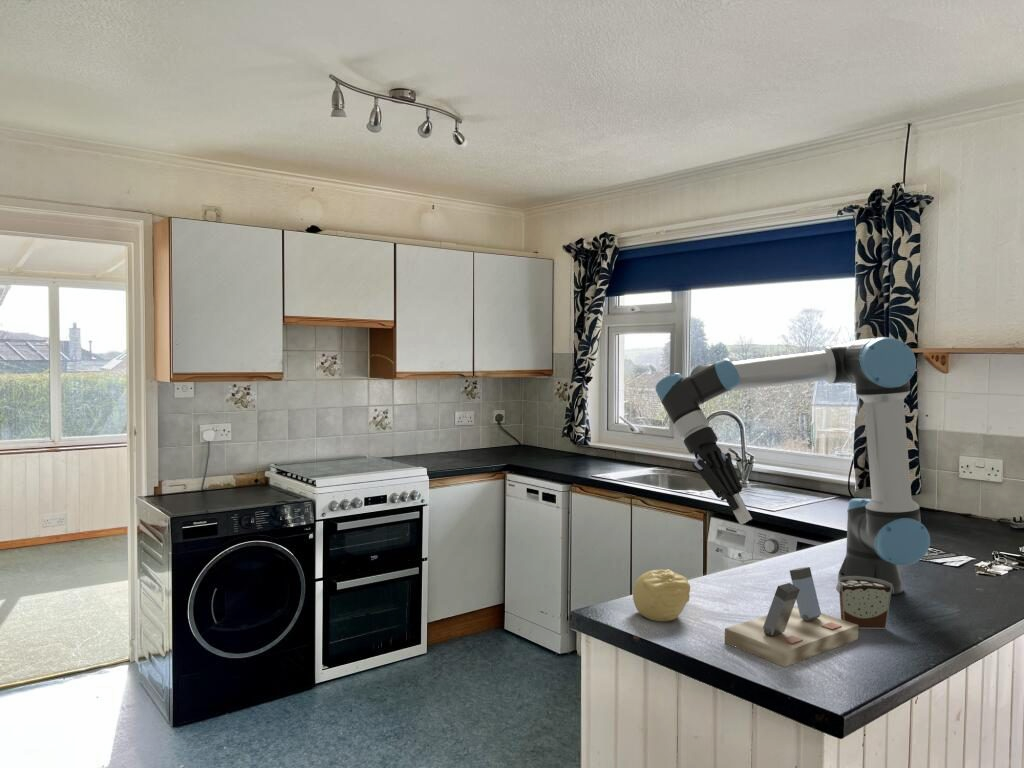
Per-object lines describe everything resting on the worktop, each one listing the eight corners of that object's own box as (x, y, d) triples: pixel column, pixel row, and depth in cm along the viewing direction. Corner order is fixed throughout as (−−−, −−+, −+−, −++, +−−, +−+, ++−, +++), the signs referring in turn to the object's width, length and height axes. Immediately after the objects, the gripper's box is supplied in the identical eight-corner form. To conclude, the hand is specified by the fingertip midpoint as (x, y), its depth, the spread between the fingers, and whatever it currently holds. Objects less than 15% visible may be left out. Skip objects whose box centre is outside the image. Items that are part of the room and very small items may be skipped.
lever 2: (812, 617, 159) (800, 567, 161) (822, 617, 157) (810, 566, 159) (800, 621, 156) (788, 570, 158) (810, 621, 154) (798, 569, 156)
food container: (877, 619, 167) (879, 575, 167) (892, 629, 161) (894, 584, 160) (824, 618, 166) (826, 574, 166) (837, 628, 160) (839, 583, 160)
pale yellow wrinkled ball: (653, 629, 157) (654, 579, 157) (623, 610, 168) (624, 564, 168) (696, 622, 162) (698, 574, 162) (664, 605, 173) (666, 560, 172)
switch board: (798, 618, 166) (798, 604, 166) (858, 639, 154) (858, 623, 154) (724, 642, 150) (725, 626, 150) (784, 667, 139) (785, 650, 139)
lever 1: (774, 627, 150) (790, 582, 147) (783, 634, 149) (800, 589, 145) (761, 631, 148) (777, 586, 145) (770, 638, 146) (787, 593, 143)
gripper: (701, 437, 184) (750, 522, 176) (669, 444, 176) (718, 534, 167) (722, 422, 179) (773, 509, 171) (690, 428, 171) (742, 520, 162)
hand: (746, 521), depth 169 cm, fingers closed
